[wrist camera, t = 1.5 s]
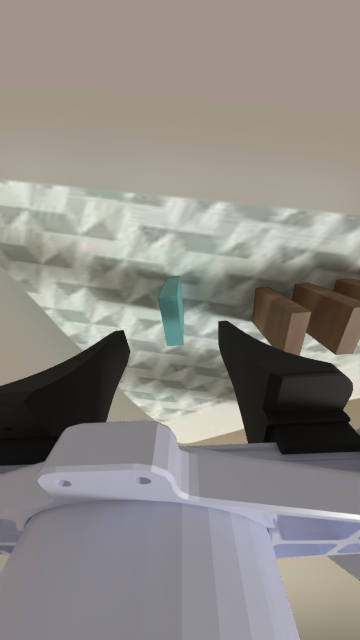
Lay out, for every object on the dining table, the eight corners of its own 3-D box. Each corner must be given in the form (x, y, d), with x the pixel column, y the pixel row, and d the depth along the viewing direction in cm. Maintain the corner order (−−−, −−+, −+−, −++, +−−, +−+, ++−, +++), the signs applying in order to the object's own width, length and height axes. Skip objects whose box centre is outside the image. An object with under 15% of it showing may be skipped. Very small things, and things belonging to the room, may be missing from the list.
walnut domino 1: (268, 287, 21) (311, 311, 14) (263, 321, 23) (298, 357, 16) (255, 288, 21) (291, 313, 14) (252, 322, 23) (282, 358, 16)
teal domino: (179, 276, 21) (176, 295, 13) (183, 311, 23) (183, 344, 16) (167, 277, 21) (158, 297, 14) (172, 313, 23) (167, 346, 16)
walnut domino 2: (308, 282, 20) (374, 305, 13) (300, 317, 23) (353, 353, 16) (295, 284, 21) (354, 307, 13) (288, 318, 23) (335, 354, 16)
